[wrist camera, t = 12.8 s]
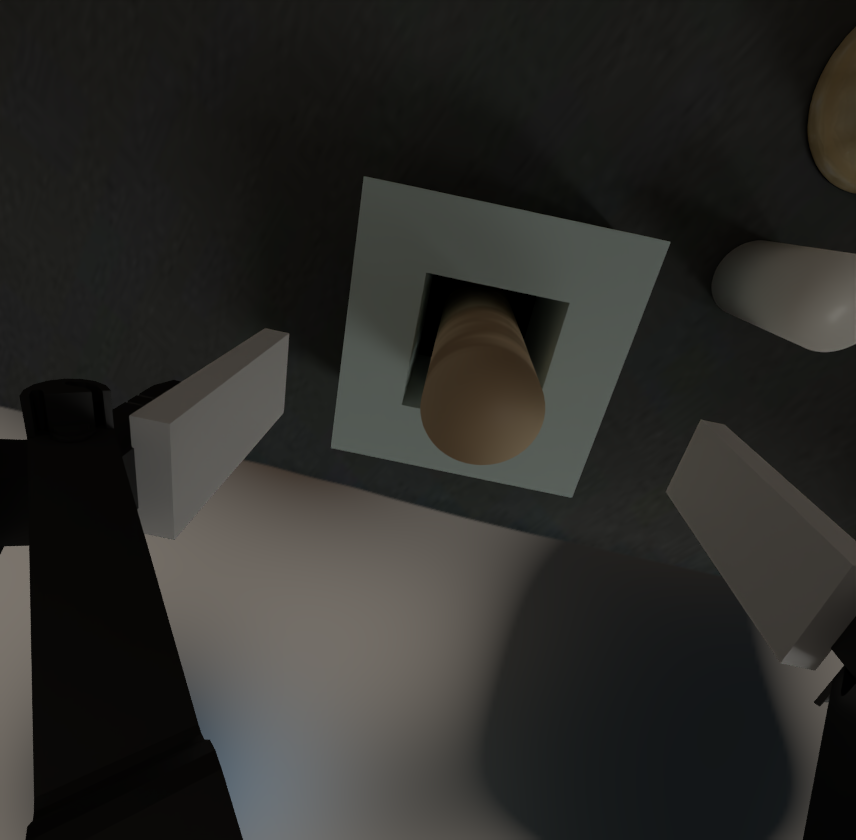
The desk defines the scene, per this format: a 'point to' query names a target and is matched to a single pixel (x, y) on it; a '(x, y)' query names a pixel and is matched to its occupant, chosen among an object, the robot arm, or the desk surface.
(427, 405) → the long pin
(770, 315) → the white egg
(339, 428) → the hole block
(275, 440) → the desk surface
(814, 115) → the hand bell
